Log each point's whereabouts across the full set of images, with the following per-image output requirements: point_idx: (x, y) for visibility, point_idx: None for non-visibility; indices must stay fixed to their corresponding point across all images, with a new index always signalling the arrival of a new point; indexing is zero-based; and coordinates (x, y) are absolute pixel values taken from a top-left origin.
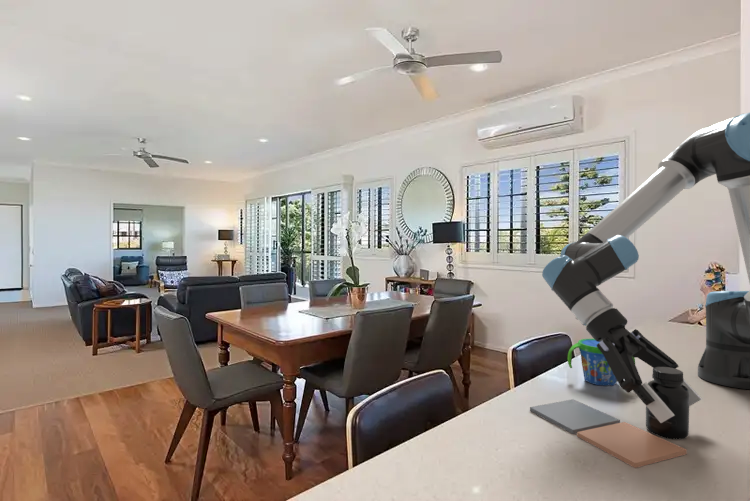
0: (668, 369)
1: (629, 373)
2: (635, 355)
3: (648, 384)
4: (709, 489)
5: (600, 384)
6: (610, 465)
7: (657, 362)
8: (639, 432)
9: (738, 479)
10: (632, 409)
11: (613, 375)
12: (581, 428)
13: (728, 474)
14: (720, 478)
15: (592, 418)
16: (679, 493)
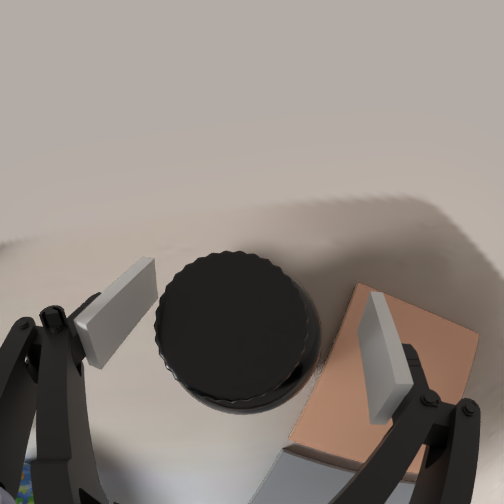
0: (207, 323)
1: (463, 435)
2: (103, 497)
3: (271, 404)
4: (450, 231)
5: None
6: (489, 367)
7: (74, 390)
8: (337, 390)
9: (386, 202)
10: (149, 439)
11: (26, 475)
12: (401, 482)
13: (381, 215)
14: (405, 223)
15: (322, 497)
16: (487, 261)
